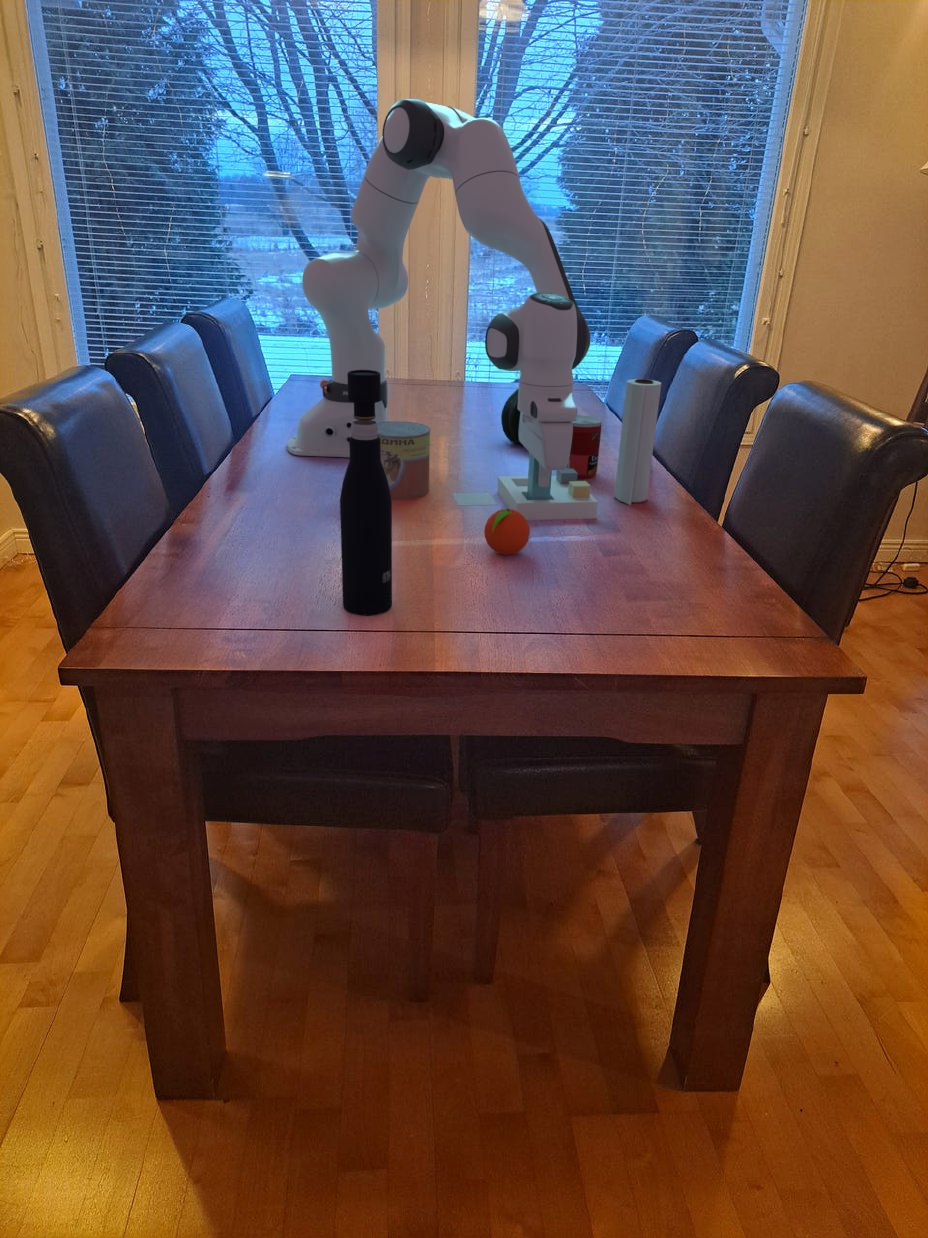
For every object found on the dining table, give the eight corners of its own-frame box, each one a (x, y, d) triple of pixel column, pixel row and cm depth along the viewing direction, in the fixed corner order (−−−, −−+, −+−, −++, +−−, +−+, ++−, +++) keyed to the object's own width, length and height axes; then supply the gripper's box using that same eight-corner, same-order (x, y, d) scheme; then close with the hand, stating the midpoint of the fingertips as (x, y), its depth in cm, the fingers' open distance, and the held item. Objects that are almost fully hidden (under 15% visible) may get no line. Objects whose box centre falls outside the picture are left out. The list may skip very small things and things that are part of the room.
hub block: (516, 523, 148) (517, 491, 146) (497, 494, 162) (498, 465, 160) (596, 521, 150) (599, 490, 148) (570, 493, 165) (572, 464, 162)
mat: (458, 508, 154) (458, 505, 154) (451, 496, 160) (452, 493, 160) (497, 507, 155) (497, 504, 155) (489, 495, 162) (489, 492, 161)
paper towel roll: (626, 491, 167) (640, 376, 158) (653, 499, 163) (668, 381, 154) (603, 498, 162) (615, 380, 153) (630, 506, 158) (644, 385, 149)
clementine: (511, 567, 130) (513, 521, 127) (471, 557, 133) (472, 512, 130) (536, 551, 136) (539, 507, 133) (497, 542, 139) (499, 499, 136)
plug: (530, 508, 150) (534, 450, 146) (526, 502, 153) (530, 445, 148) (549, 507, 150) (553, 449, 146) (544, 501, 153) (548, 445, 149)
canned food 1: (356, 498, 158) (355, 431, 153) (383, 481, 168) (383, 418, 162) (414, 506, 155) (415, 438, 150) (438, 489, 164) (439, 425, 159)
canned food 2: (595, 480, 173) (600, 425, 168) (554, 477, 174) (559, 421, 170) (597, 470, 180) (603, 416, 175) (558, 467, 181) (563, 413, 176)
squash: (526, 431, 185) (561, 372, 187) (479, 421, 196) (512, 365, 197) (559, 468, 196) (592, 411, 197) (512, 456, 206) (543, 402, 207)
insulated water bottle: (343, 595, 119) (337, 367, 106) (391, 595, 119) (391, 368, 106) (341, 615, 113) (335, 376, 100) (392, 615, 113) (391, 377, 101)
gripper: (512, 387, 153) (508, 465, 159) (541, 413, 134) (535, 500, 140) (547, 387, 154) (542, 465, 160) (581, 412, 136) (573, 499, 141)
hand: (539, 481), depth 150 cm, fingers closed on plug, 3 cm apart
